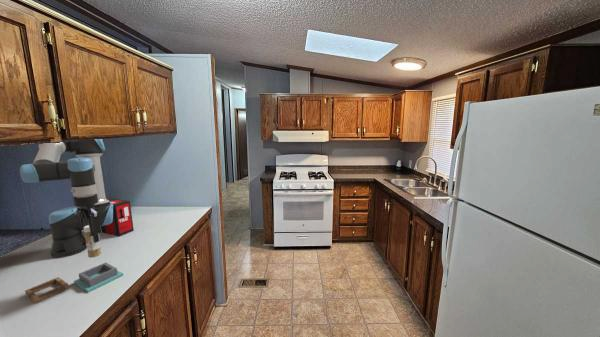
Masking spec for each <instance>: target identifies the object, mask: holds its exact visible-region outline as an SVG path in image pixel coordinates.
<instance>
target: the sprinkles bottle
mask: <svg viewBox="0 0 600 337" xmlns="http://www.w3.org/2000/svg"><path fill="white" fill-rule="evenodd" d="M83 229H84V231H83V233H84V237H85V238H86V246H87V249H86V251H87V257H88V258H92V259H93V258H96V257H99V256H100V255H101V254H102V249H101V248H102V247H101V248H99V249H96V250H93V249H92V243H91V237H90V236H89V235H91V232H90V228H89V225H88V226H85V227H84V228H83Z"/></svg>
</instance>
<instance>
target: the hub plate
mask: <svg viewBox="0 0 600 337" xmlns="http://www.w3.org/2000/svg"><path fill="white" fill-rule="evenodd" d="M123 276H124V273H123V272H122V271H119V270H118V269H117V267H115V266H113V265H111V264H109V263H107V262H104V263H101V264H99V265H96V266H93V267H91V268H89V269H87V270H85V271H82V272H79V273H78V278H77V279H75V280H73V283H74V284H75V285H76V286H78V287H79V288H81V289H82V290H84V291H85V292H86V293H91V292H93V291H95V290H97V289H99V288H101V287H102V286H105V285H107V284H109V283H111V282H114V280H117V279H119V278H121V277H123Z"/></svg>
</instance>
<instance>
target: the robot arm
mask: <svg viewBox="0 0 600 337" xmlns="http://www.w3.org/2000/svg"><path fill="white" fill-rule="evenodd" d="M104 151H106V147H105V144H104V141H103V138H102V139H92V140H78V141H69V142H60V143H43V144H39V143H38V152H37V154H36V156H35V158H34V159H33V162H32V163H28V164H22V165H20V166H19V167H20V168H19V174H20V179H21V180H22V181H23V183H26V184H31V183H36V184H37V183H44V182H54V181H64V180H70V186H71V189H70V193H72V196H73V198H72V199H73V205H74V206H68V207H64V208H61V209H60V208H59V209H57V210H55V211H52V212H51V213H50V214H49V215H48V224H49V228H50V234H51V238H52V242H51V247H50V251H49V253H50V254H49V255H50V256H51V258H54V259H55V258H65V257H70V256H73V255H76V254H79V253H81V252H83V251H85V250H87V246H86V238H85V234H83V232H84V229H83V228H84V227H85V226H88V225H89V228H90V232H91V235H89V236H90V237H91V243H92V249H93V250H96V249H99V248H102V244H101V238H100V234H102V231H101V226H104V225H108V224H111V223H112V222H113V204H110V201H109V199H107V196H106V192H105V191H106V190H105V184H104V176H103V170H102V165H101V157H102V156H103V155H104V153H103V152H104ZM71 153H72V154H73V153H74V155H75V157H74V158H69V159H68V160H67V161H60V159H61V156H62V155H63V154H71Z"/></svg>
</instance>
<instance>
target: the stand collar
mask: <svg viewBox="0 0 600 337" xmlns="http://www.w3.org/2000/svg"><path fill="white" fill-rule="evenodd" d="M54 285H58V286H57V287H55V288H53V289H49V290H48V291H45V292H42V294H39V295H37V294H36V293H38V292H40V291H42V290H45V289H48V288H49V287H51V286H52V287H53V286H54ZM68 289H70V286H69V283H67V282H66V281H65V280H63V279H62V278H60V277H59V276H58V277H55V278H53V279H51V280H47V281H46V282H43V283H40V284H38V285H36V286H33V287H31V288H28V289H26V290H24V292H25V296H26V297H27V298H29V300H31V302H33V303H34V304H38V303H40V302H43V301H44V300H46V299H49V298H51V297H53V296H55V295H57V294H60V293H62V292H64V291H65V290H68Z"/></svg>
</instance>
